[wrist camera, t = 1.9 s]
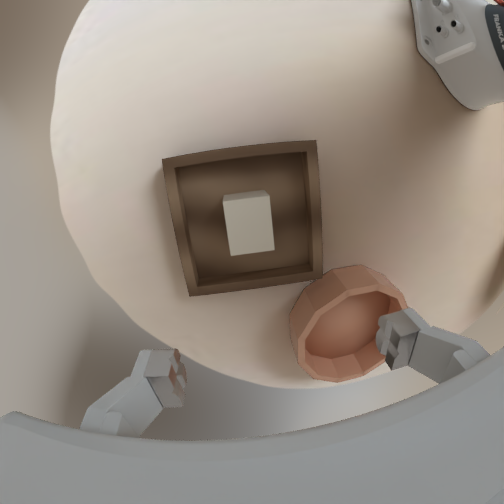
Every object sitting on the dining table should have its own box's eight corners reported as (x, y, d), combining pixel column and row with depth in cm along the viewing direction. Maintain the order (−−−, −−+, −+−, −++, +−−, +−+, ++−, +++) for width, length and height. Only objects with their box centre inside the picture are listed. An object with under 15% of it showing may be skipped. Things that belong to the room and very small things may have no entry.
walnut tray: (169, 158, 25) (161, 159, 22) (307, 140, 26) (316, 140, 23) (193, 283, 30) (189, 296, 28) (314, 266, 31) (322, 278, 28)
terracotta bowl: (287, 276, 31) (296, 298, 26) (396, 258, 31) (417, 275, 27) (291, 365, 36) (298, 390, 32) (382, 344, 37) (396, 365, 32)
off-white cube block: (223, 194, 26) (222, 201, 23) (264, 189, 26) (269, 195, 23) (230, 242, 28) (230, 255, 25) (269, 237, 28) (274, 250, 25)
